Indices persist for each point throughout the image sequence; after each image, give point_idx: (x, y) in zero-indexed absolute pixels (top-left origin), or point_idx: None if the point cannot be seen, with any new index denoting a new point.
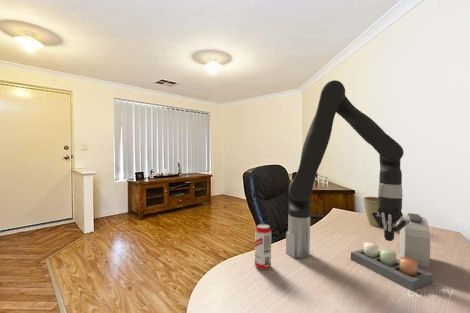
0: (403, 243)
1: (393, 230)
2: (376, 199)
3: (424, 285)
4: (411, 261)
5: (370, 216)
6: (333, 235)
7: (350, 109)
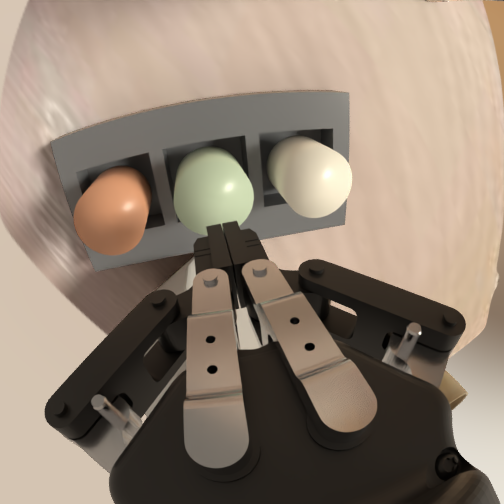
0: None
1: (168, 293)
2: None
3: None
4: (95, 225)
5: None
6: (461, 209)
7: None
